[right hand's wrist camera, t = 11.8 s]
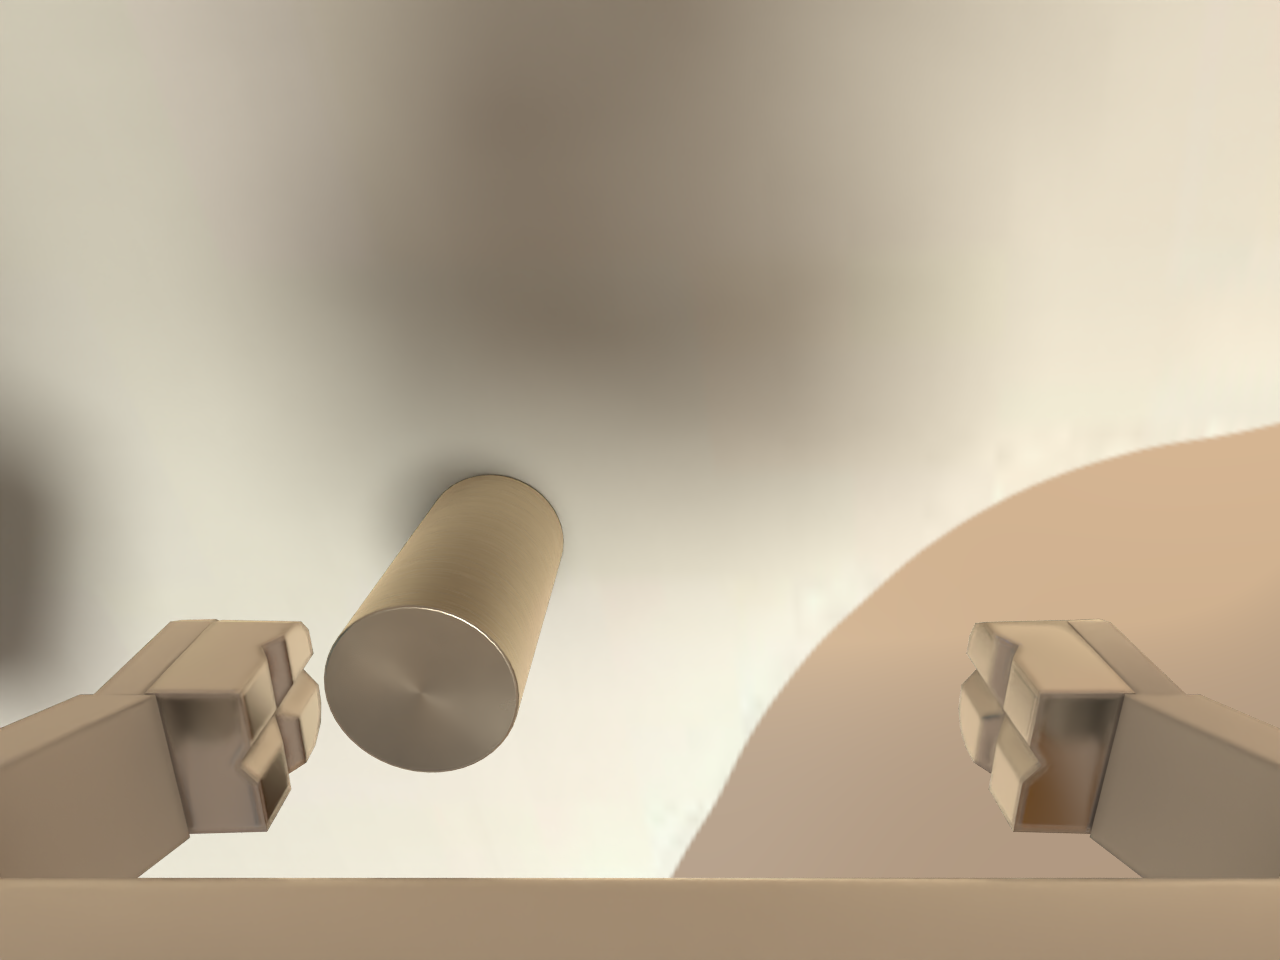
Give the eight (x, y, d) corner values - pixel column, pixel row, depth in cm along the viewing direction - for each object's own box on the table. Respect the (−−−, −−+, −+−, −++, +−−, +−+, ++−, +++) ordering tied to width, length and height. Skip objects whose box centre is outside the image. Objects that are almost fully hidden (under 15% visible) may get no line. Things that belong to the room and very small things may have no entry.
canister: (422, 589, 32) (321, 759, 23) (431, 464, 31) (324, 591, 21) (555, 609, 32) (509, 786, 23) (571, 485, 31) (528, 621, 21)
